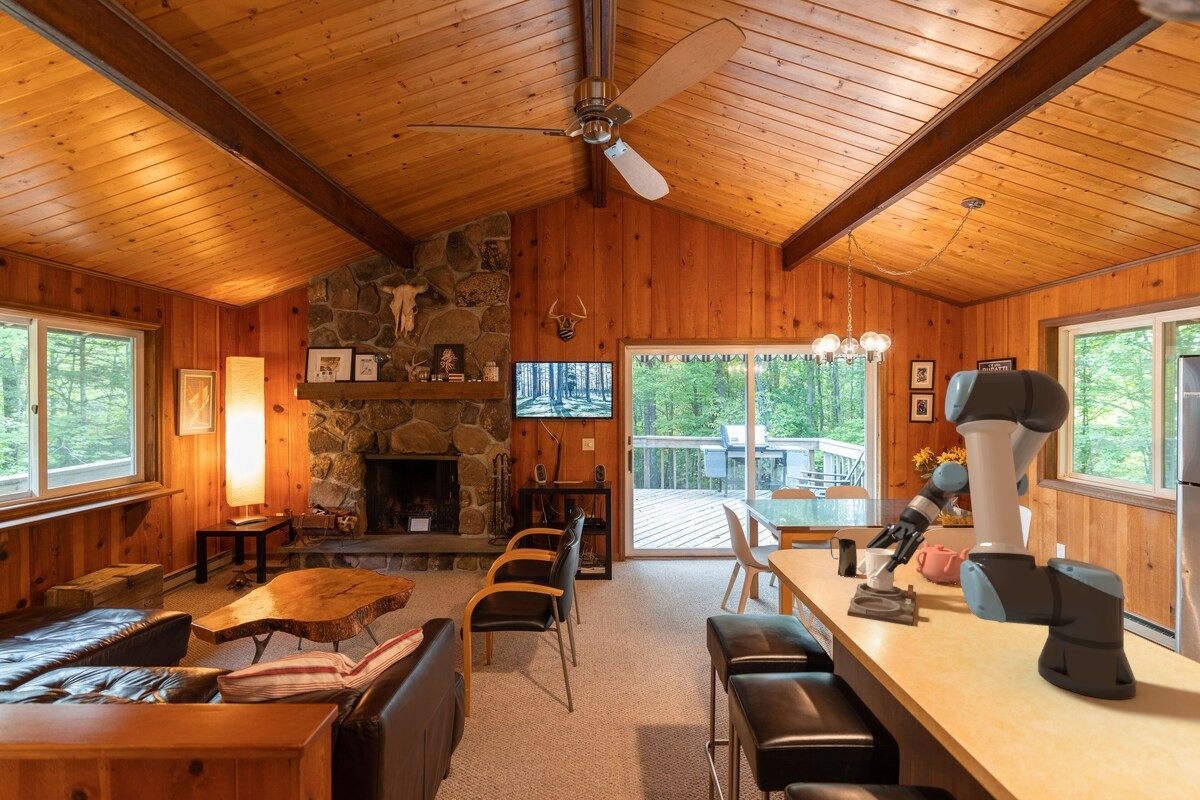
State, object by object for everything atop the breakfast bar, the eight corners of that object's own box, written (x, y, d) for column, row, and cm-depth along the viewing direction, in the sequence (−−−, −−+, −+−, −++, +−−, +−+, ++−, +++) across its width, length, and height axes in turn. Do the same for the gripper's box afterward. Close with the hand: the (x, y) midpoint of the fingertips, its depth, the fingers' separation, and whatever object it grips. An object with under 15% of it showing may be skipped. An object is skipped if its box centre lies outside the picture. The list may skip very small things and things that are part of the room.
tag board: (912, 625, 149) (912, 609, 149) (847, 615, 156) (847, 599, 156) (916, 595, 172) (916, 581, 172) (859, 587, 180) (859, 574, 180)
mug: (853, 572, 195) (853, 535, 195) (859, 577, 189) (859, 539, 189) (828, 572, 196) (828, 535, 196) (833, 577, 190) (832, 539, 190)
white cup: (902, 588, 169) (901, 553, 169) (880, 592, 166) (880, 555, 166) (879, 581, 176) (879, 547, 176) (858, 584, 173) (858, 549, 173)
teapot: (922, 571, 197) (922, 537, 197) (972, 580, 186) (972, 545, 186) (906, 580, 187) (906, 544, 187) (957, 590, 176) (957, 553, 176)
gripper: (954, 531, 164) (902, 594, 161) (902, 517, 184) (855, 573, 181) (937, 512, 163) (884, 576, 160) (886, 500, 183) (839, 556, 180)
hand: (869, 574), depth 170 cm, fingers closed on white cup, 7 cm apart
